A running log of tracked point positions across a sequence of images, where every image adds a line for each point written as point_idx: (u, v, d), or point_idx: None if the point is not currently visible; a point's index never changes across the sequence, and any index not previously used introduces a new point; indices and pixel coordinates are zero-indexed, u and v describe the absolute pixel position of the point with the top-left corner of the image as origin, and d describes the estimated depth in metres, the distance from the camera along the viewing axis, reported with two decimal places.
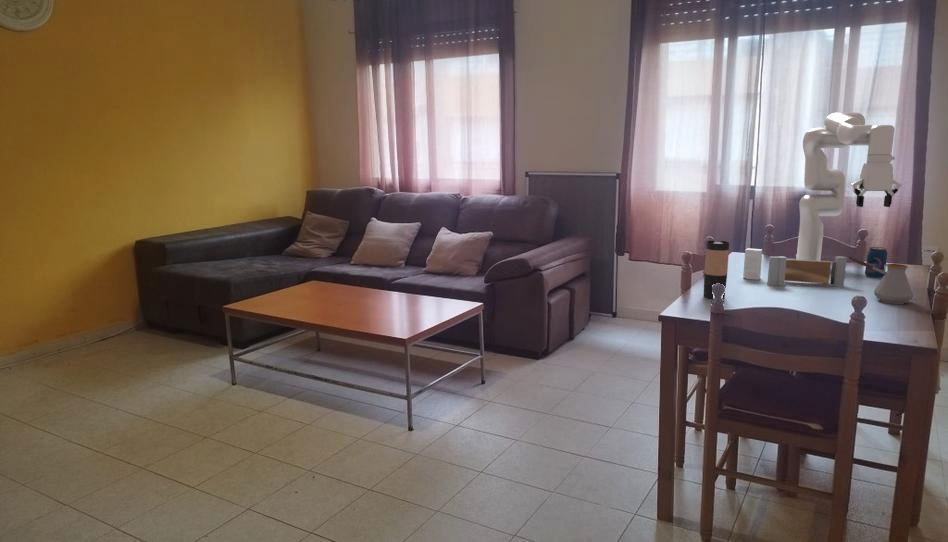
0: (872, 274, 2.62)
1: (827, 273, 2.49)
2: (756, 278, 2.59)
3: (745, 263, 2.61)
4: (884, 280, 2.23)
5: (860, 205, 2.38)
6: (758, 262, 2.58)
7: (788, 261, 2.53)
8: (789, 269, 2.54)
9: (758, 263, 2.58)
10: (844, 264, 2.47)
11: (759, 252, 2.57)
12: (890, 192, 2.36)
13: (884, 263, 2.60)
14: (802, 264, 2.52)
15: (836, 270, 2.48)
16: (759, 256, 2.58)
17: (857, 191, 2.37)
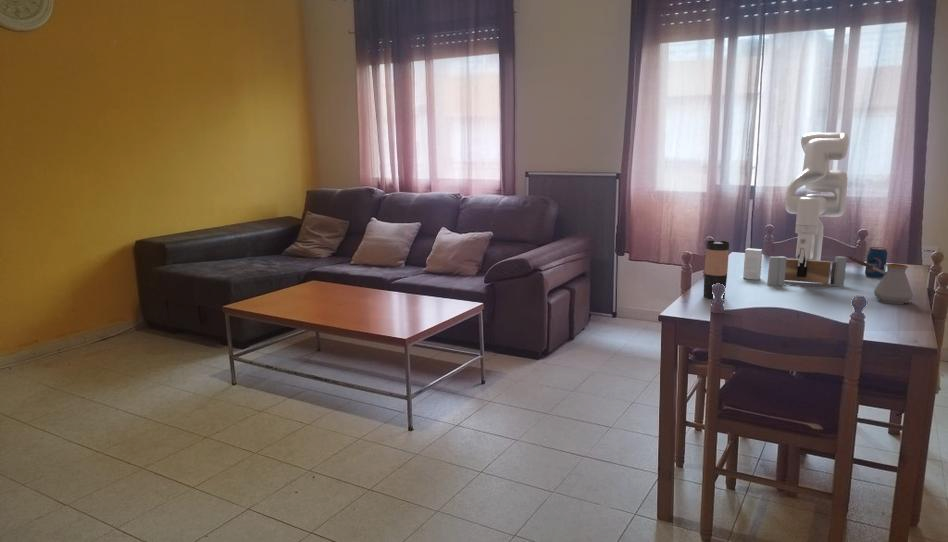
0: (872, 274, 2.62)
1: (827, 273, 2.49)
2: (756, 278, 2.59)
3: (745, 263, 2.61)
4: (884, 280, 2.23)
5: None
6: (758, 262, 2.58)
7: (788, 261, 2.54)
8: (789, 268, 2.55)
9: (758, 263, 2.58)
10: (844, 264, 2.47)
11: (759, 252, 2.57)
12: (798, 262, 2.50)
13: (884, 263, 2.60)
14: None
15: (836, 270, 2.48)
16: (759, 256, 2.58)
17: None
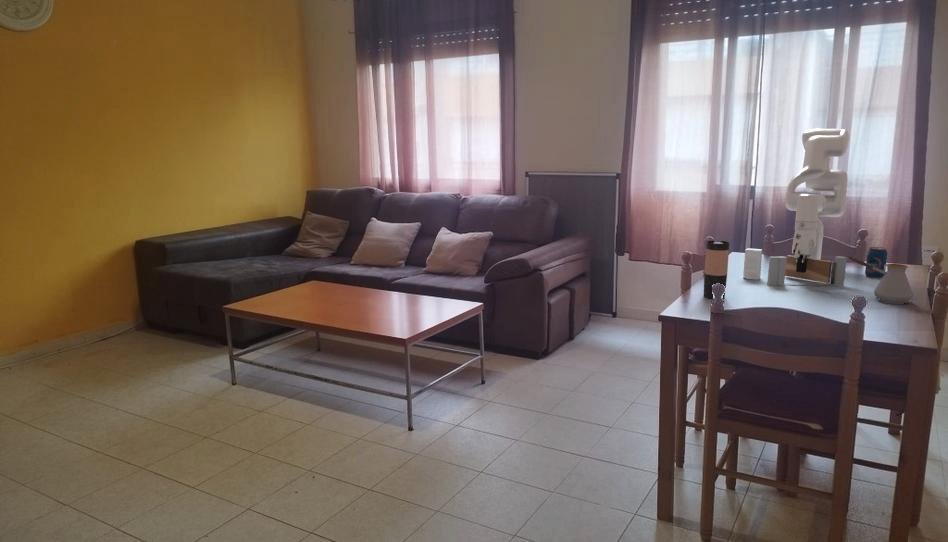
0: (872, 274, 2.62)
1: (826, 272, 2.50)
2: (756, 278, 2.59)
3: (745, 263, 2.61)
4: (884, 280, 2.23)
5: None
6: (758, 262, 2.58)
7: (792, 258, 2.61)
8: (793, 265, 2.61)
9: (758, 263, 2.58)
10: (844, 264, 2.47)
11: (759, 252, 2.57)
12: None
13: (884, 263, 2.60)
14: None
15: (836, 270, 2.48)
16: (759, 256, 2.58)
17: None
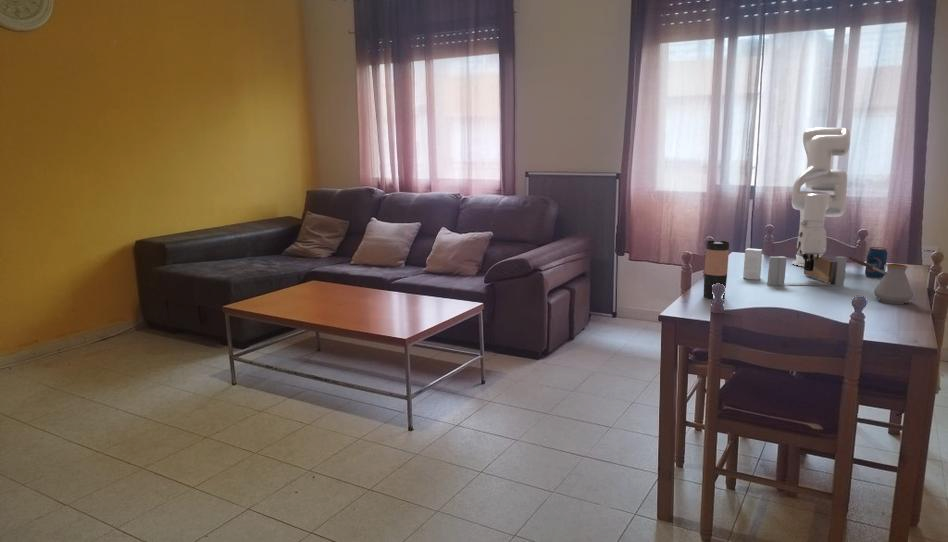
0: (872, 274, 2.62)
1: (827, 272, 2.51)
2: (756, 278, 2.59)
3: (745, 263, 2.61)
4: (884, 280, 2.23)
5: None
6: (758, 262, 2.58)
7: None
8: None
9: (758, 263, 2.58)
10: (844, 264, 2.47)
11: (759, 252, 2.57)
12: None
13: (884, 263, 2.60)
14: None
15: (836, 270, 2.48)
16: (759, 256, 2.58)
17: None
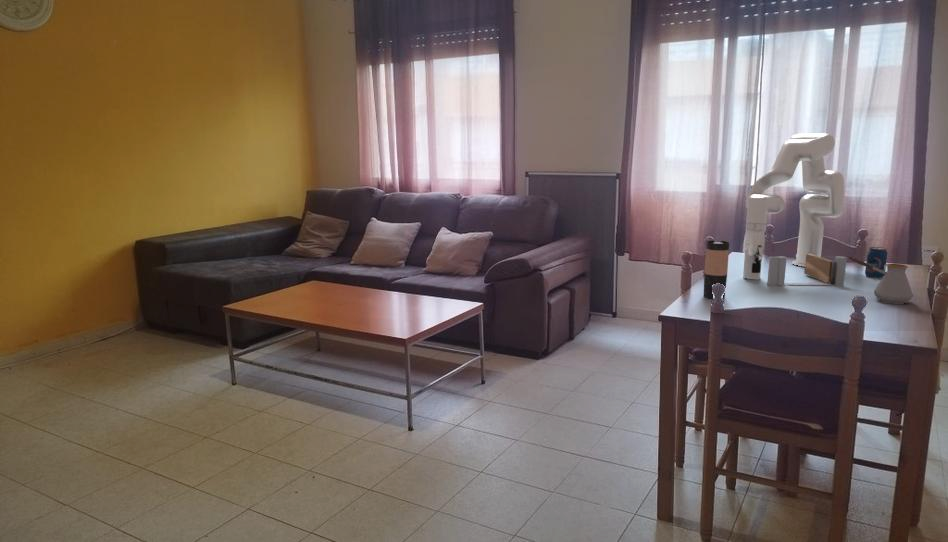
0: (872, 274, 2.62)
1: (827, 272, 2.51)
2: (756, 278, 2.59)
3: (745, 263, 2.61)
4: (884, 280, 2.23)
5: (758, 271, 2.58)
6: None
7: (809, 256, 2.64)
8: (809, 264, 2.64)
9: None
10: (844, 264, 2.47)
11: None
12: None
13: (884, 263, 2.60)
14: (815, 260, 2.59)
15: (836, 270, 2.48)
16: None
17: None
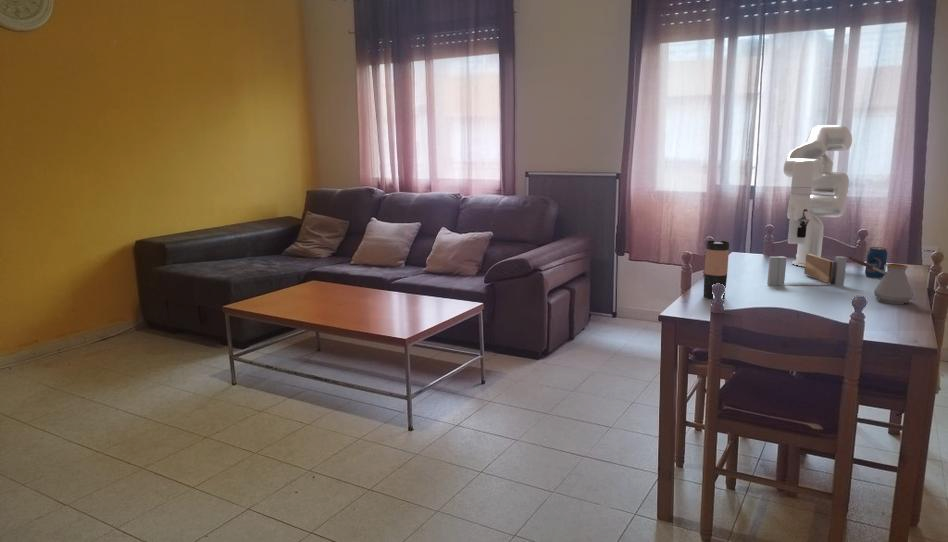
0: (872, 274, 2.62)
1: (827, 272, 2.51)
2: (801, 243, 2.58)
3: (790, 228, 2.60)
4: (884, 280, 2.23)
5: (804, 236, 2.57)
6: None
7: (809, 256, 2.64)
8: (809, 264, 2.64)
9: None
10: (844, 264, 2.47)
11: None
12: None
13: (884, 263, 2.60)
14: (815, 260, 2.59)
15: (836, 270, 2.48)
16: None
17: None
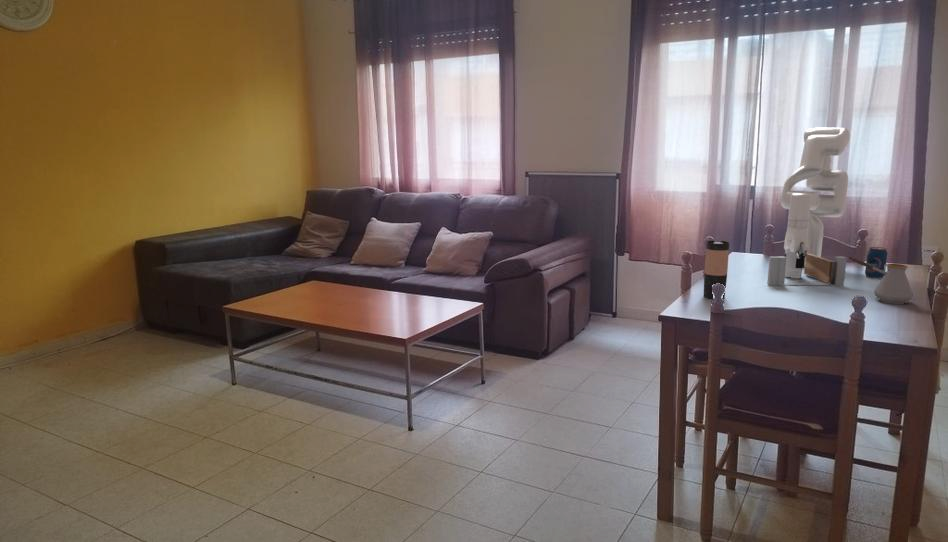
0: (872, 274, 2.62)
1: (827, 272, 2.51)
2: (798, 277, 2.61)
3: (787, 262, 2.63)
4: (884, 280, 2.23)
5: (802, 267, 2.58)
6: None
7: (809, 256, 2.64)
8: (809, 264, 2.64)
9: None
10: (844, 264, 2.47)
11: None
12: None
13: (884, 263, 2.60)
14: (815, 260, 2.59)
15: (836, 270, 2.48)
16: None
17: None
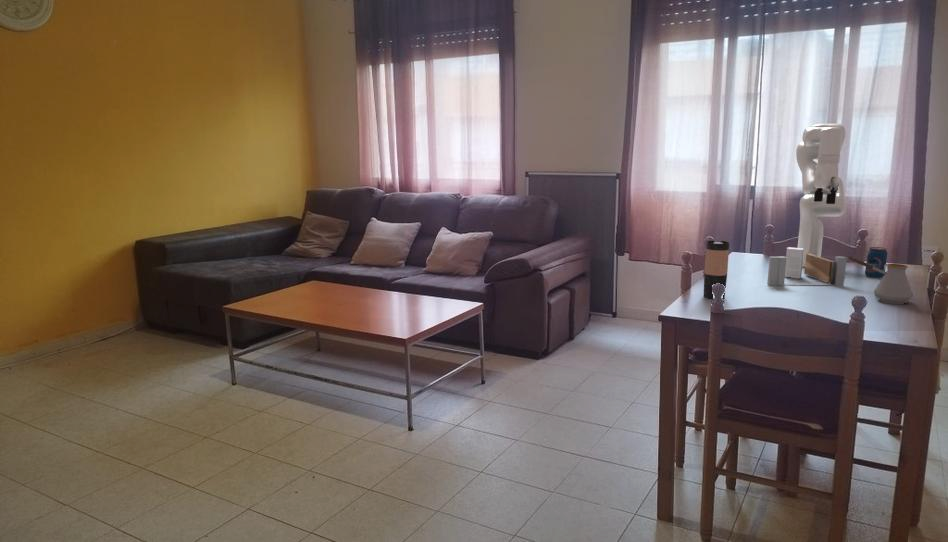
0: (872, 274, 2.62)
1: (827, 272, 2.51)
2: (798, 277, 2.61)
3: (787, 262, 2.63)
4: (884, 280, 2.23)
5: (833, 202, 2.55)
6: (800, 261, 2.60)
7: (809, 256, 2.64)
8: (809, 264, 2.64)
9: (800, 262, 2.60)
10: (844, 264, 2.47)
11: (801, 251, 2.59)
12: None
13: (884, 263, 2.60)
14: (815, 260, 2.59)
15: (836, 270, 2.48)
16: (801, 255, 2.59)
17: None
